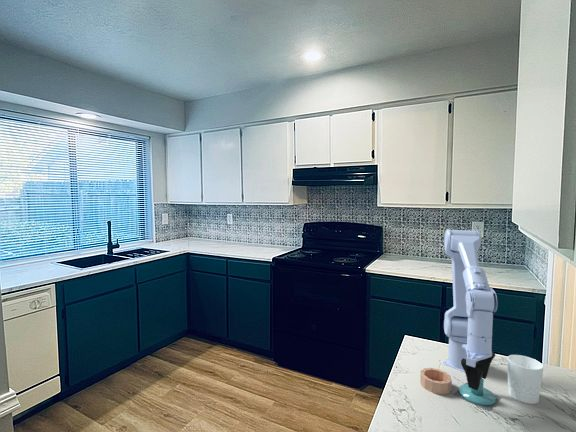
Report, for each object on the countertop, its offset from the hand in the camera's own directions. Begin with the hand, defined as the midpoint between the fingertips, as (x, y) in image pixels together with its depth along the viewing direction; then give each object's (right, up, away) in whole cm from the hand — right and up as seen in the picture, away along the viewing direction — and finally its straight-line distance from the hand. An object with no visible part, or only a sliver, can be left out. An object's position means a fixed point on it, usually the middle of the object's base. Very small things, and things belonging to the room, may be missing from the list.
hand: (477, 382), depth 88 cm
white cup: (+13, -5, +1) cm, 14 cm away
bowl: (-9, -4, +5) cm, 11 cm away
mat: (0, -4, 0) cm, 4 cm away
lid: (0, -4, 0) cm, 4 cm away
